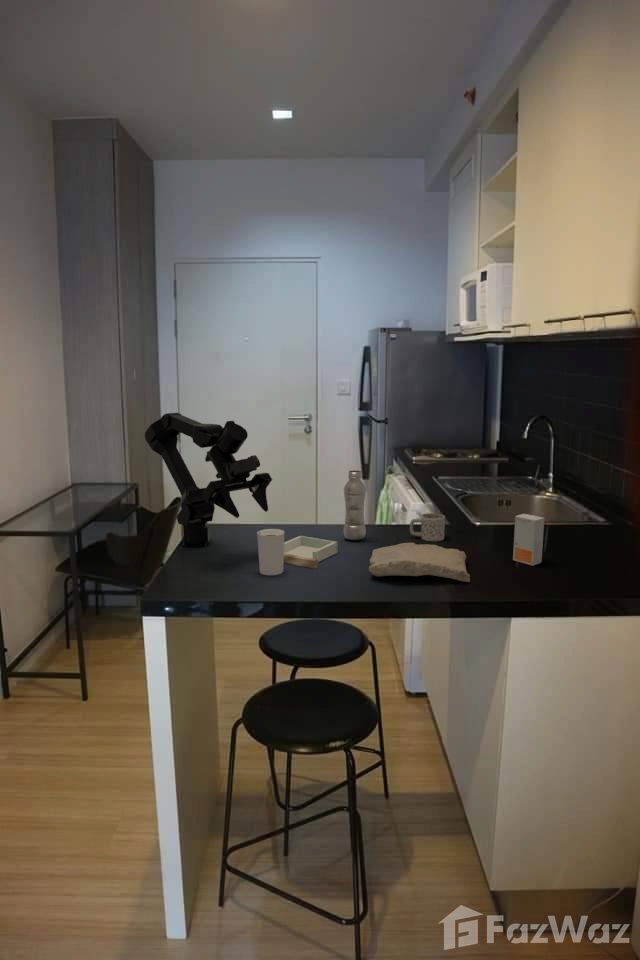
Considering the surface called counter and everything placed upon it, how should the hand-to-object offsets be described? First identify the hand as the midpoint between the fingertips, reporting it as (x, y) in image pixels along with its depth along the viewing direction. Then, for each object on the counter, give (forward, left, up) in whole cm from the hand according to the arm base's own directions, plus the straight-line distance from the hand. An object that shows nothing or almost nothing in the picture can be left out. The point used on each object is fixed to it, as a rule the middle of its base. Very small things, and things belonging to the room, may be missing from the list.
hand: (252, 513), depth 168 cm
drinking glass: (+5, -6, -13) cm, 15 cm away
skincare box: (+70, +3, -13) cm, 71 cm away
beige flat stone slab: (+41, -6, -14) cm, 44 cm away
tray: (+13, +8, -13) cm, 20 cm away
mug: (+47, +25, -14) cm, 55 cm away
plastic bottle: (+26, +23, -13) cm, 37 cm away
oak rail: (+9, +1, -13) cm, 16 cm away
